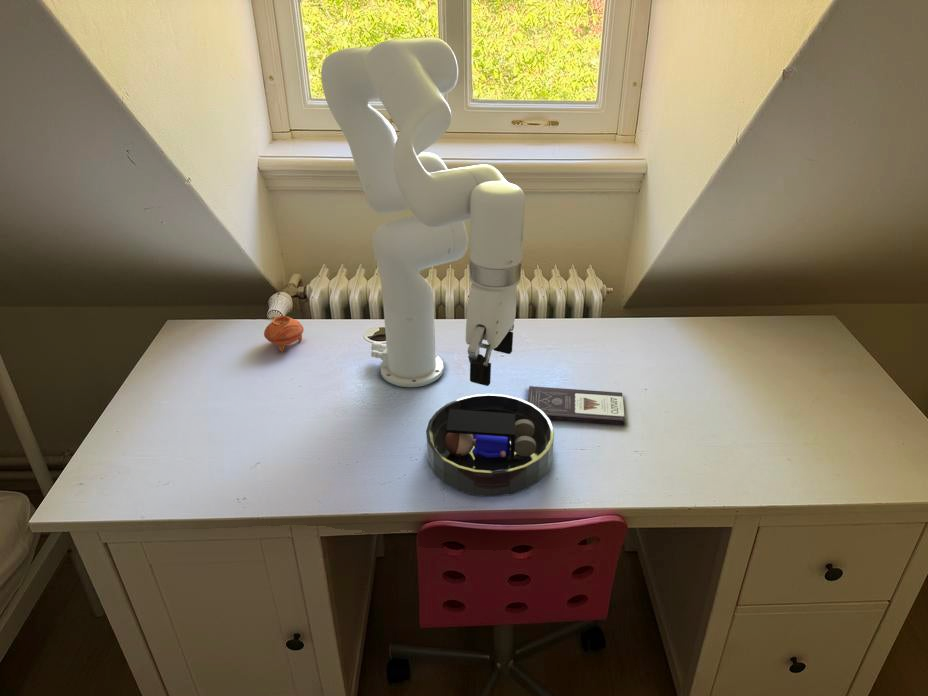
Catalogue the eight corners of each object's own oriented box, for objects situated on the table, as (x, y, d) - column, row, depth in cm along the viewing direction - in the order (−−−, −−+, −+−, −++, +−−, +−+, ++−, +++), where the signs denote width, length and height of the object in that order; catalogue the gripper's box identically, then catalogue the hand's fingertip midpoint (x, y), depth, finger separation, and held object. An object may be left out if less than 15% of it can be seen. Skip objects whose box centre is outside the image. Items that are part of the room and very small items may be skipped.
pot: (304, 353, 143) (292, 325, 139) (269, 360, 144) (255, 333, 140) (312, 332, 149) (300, 306, 145) (278, 339, 150) (265, 313, 146)
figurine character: (530, 447, 122) (445, 438, 120) (537, 413, 117) (449, 403, 116) (531, 473, 116) (442, 464, 115) (538, 438, 112) (446, 428, 110)
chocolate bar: (529, 386, 134) (622, 392, 133) (529, 390, 135) (621, 396, 134) (526, 413, 127) (624, 420, 126) (526, 417, 127) (624, 424, 126)
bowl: (406, 479, 113) (404, 453, 110) (457, 408, 129) (456, 383, 126) (529, 513, 107) (531, 486, 104) (566, 434, 124) (568, 409, 121)
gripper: (492, 242, 108) (489, 335, 118) (447, 290, 95) (447, 390, 104) (538, 251, 106) (531, 345, 116) (498, 301, 93) (493, 402, 103)
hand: (491, 366), depth 110 cm, fingers open, 9 cm apart
